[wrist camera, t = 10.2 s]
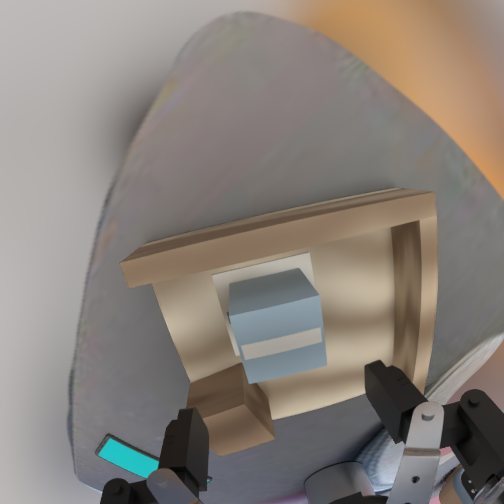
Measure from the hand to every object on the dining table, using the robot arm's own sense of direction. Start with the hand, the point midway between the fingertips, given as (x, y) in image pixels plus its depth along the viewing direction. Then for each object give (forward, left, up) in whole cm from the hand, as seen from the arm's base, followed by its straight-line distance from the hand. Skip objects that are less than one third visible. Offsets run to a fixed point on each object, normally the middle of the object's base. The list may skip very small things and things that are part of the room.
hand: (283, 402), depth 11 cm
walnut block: (-7, +4, -10) cm, 13 cm away
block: (0, -1, -9) cm, 9 cm away
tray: (-3, -3, -11) cm, 11 cm away
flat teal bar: (-21, +19, -11) cm, 31 cm away
